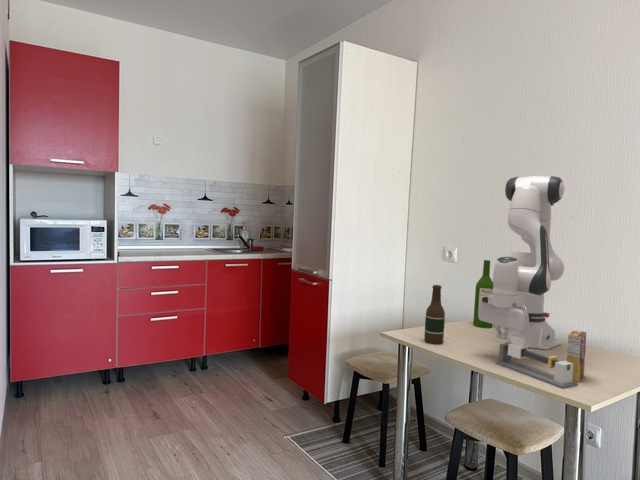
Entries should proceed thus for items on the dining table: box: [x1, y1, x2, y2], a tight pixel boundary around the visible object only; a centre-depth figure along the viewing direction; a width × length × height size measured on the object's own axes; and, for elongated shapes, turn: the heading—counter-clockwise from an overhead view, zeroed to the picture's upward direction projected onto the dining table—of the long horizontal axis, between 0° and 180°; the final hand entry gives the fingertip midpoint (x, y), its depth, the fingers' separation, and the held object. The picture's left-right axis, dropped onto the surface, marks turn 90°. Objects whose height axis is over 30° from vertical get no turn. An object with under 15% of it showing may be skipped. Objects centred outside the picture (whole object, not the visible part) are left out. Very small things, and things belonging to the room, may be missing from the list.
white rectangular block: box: [508, 335, 529, 360], centre depth 163 cm, size 4×5×7 cm
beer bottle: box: [423, 284, 446, 345], centre depth 192 cm, size 8×8×24 cm
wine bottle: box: [472, 259, 493, 329], centre depth 226 cm, size 9×9×32 cm
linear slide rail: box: [494, 342, 579, 390], centre depth 158 cm, size 8×26×8 cm, turn 29°
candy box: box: [566, 330, 587, 383], centre depth 155 cm, size 9×4×15 cm, turn 140°
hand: (501, 338), depth 170 cm, fingers closed
